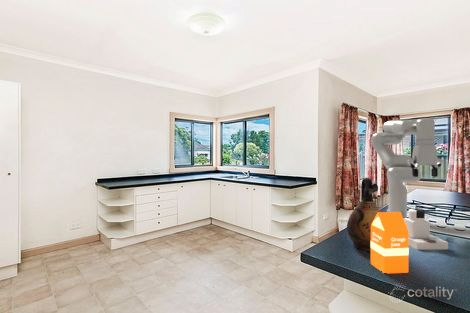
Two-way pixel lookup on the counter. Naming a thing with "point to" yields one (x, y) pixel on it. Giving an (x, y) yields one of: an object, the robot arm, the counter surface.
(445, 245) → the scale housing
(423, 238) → the scale pan
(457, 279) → the counter surface
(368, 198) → the ceramic jug
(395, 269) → the orange juice
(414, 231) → the medicine bottle
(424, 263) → the counter surface
